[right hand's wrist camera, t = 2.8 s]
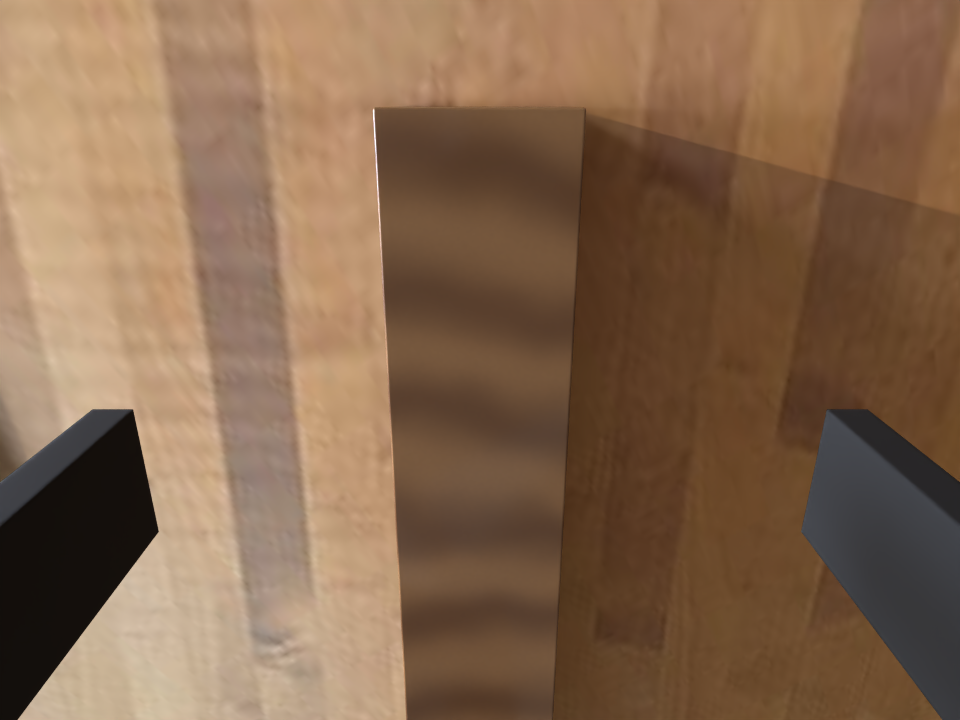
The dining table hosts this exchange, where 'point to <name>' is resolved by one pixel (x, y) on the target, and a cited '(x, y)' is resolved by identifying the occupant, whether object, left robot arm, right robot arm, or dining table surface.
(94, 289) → the dining table surface
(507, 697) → the wooden beam
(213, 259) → the dining table surface
